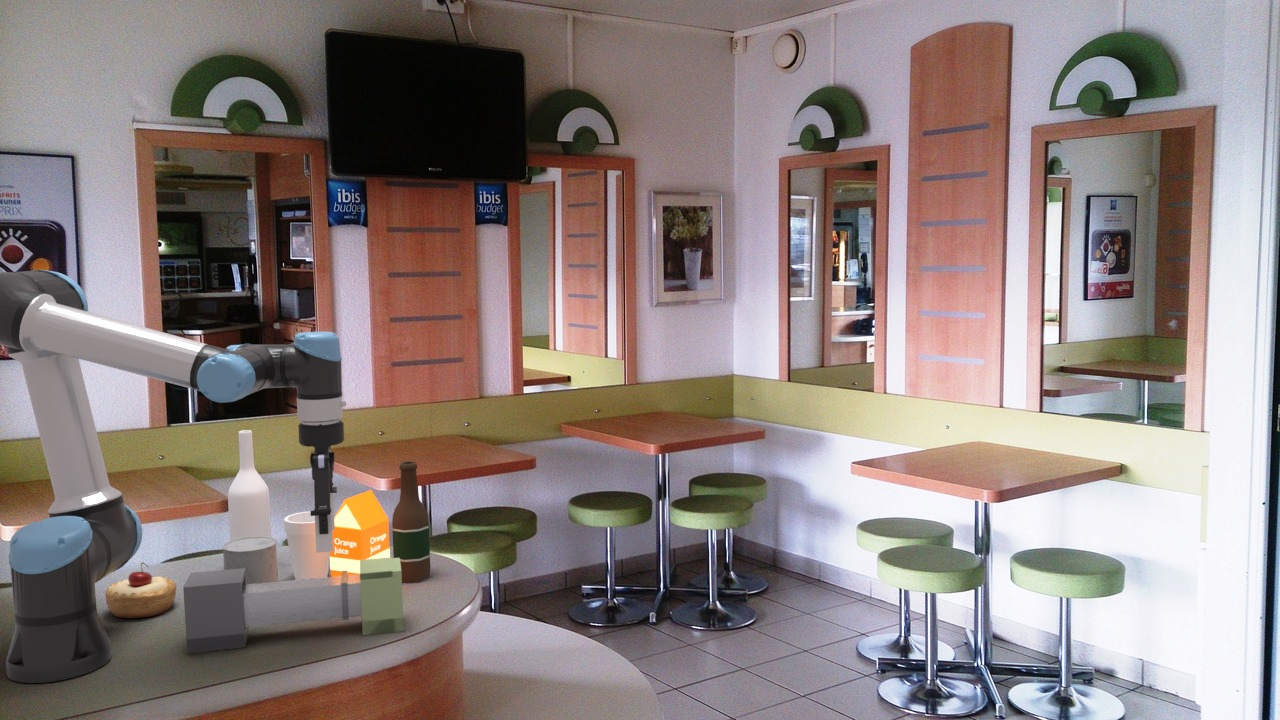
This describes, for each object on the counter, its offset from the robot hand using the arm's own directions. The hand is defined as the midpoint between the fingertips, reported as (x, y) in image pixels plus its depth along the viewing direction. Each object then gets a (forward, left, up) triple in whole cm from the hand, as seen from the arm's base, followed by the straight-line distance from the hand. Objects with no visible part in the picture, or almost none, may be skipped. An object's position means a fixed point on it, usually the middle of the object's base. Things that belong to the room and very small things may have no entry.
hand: (325, 540), depth 183 cm
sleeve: (-18, 0, -16) cm, 25 cm away
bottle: (-16, +39, -17) cm, 45 cm away
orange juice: (+6, +18, -17) cm, 25 cm away
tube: (-2, 0, -13) cm, 14 cm away
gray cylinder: (-14, +17, -17) cm, 28 cm away
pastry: (-34, +21, -17) cm, 44 cm away
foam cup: (-4, +31, -17) cm, 35 cm away
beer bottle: (+16, +26, -17) cm, 35 cm away
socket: (+9, 0, -16) cm, 19 cm away
